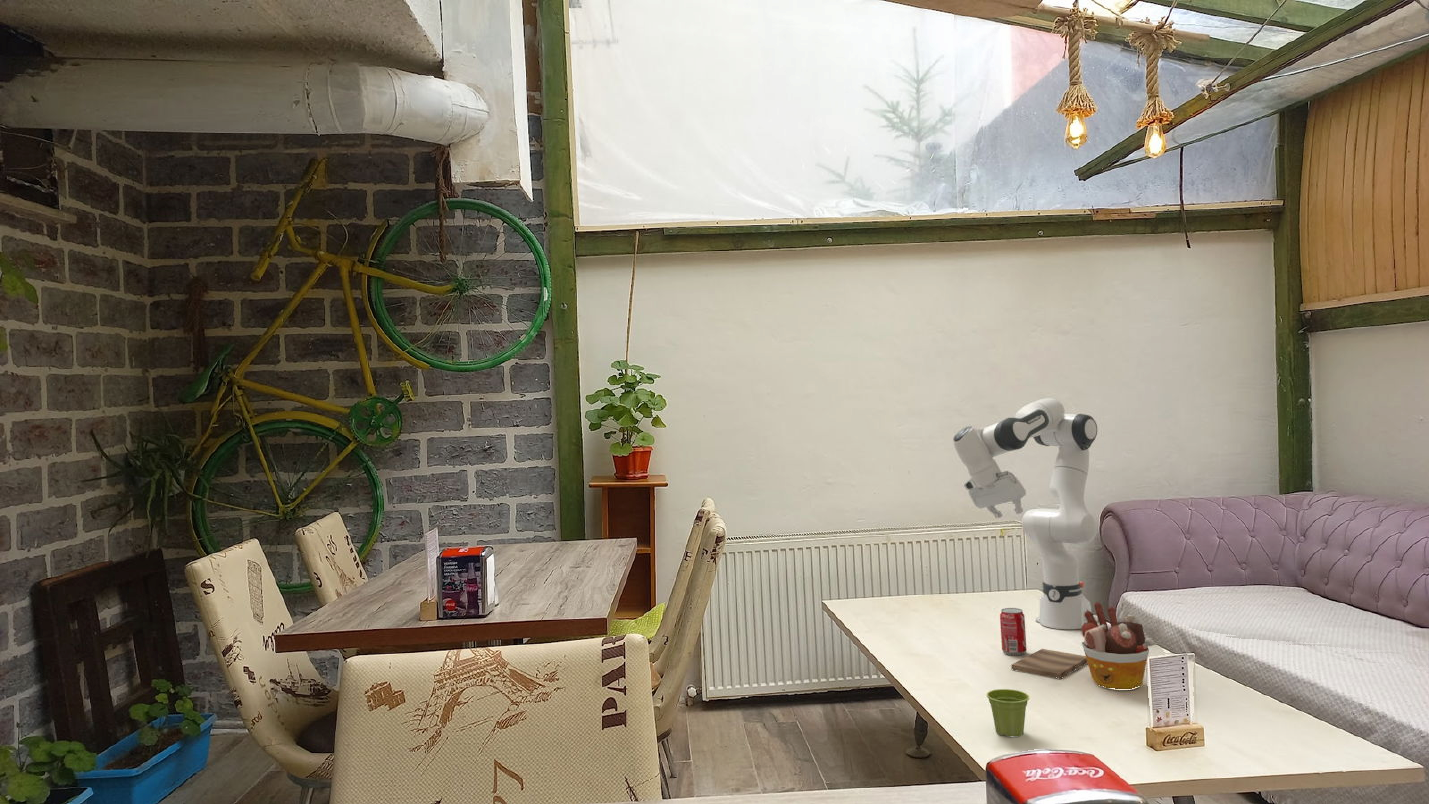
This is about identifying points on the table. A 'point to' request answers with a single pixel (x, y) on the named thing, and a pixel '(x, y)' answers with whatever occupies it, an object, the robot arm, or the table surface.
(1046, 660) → the walnut board
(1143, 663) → the bucket of meat
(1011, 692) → the plant pot
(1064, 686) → the table surface
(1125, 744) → the table surface
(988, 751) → the table surface
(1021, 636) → the soda can
